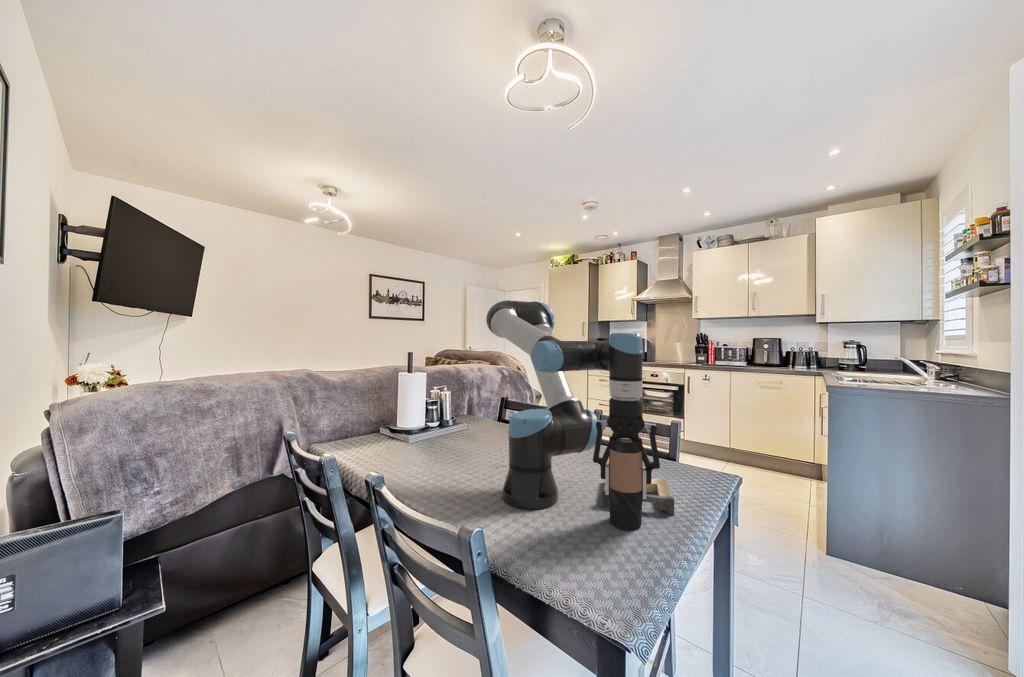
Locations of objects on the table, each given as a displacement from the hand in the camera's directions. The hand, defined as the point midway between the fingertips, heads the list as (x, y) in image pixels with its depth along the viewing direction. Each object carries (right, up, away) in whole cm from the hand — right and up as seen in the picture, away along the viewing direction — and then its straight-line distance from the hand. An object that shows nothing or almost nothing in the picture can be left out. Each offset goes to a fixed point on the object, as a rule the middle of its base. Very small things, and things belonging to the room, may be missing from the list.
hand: (625, 494), depth 88 cm
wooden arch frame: (+8, -7, +15) cm, 18 cm away
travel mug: (0, -7, 0) cm, 7 cm away
